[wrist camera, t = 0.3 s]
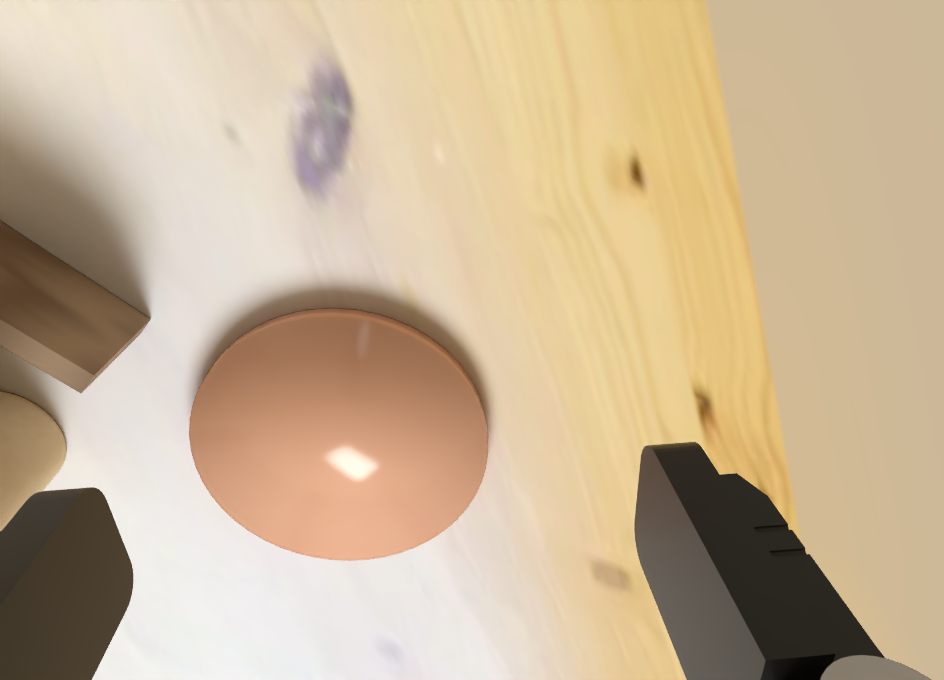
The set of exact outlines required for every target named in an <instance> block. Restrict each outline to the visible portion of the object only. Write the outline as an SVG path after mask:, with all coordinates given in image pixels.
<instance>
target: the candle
mask: <svg viewBox="0 0 944 680" xmlns="http://www.w3.org/2000/svg"><path fill="white" fill-rule="evenodd" d="M65 457H66V443H65V439H64V436H63V434H62V431H61V430H60V428H59V426H58V425H57V424H56V422H55V421H54V420H53V419H52V418H51V417H50V416H49V415H48V414H47V413H46V412H45V411H44V410H43V409H41V408H40V407H38V406H37V405H35V404H34V403H32V402H30V401H28V400H26V399H24V398H22V397H20V396H17V395H14V394H10V393H6V392H1V391H0V531H2V530H3V529H4V527H5V526H6V525H7V524H8V523H9V521H10V520H11V519H12V518H13V516H14V515H15V514H16V513H17V512H18V510H19V509H20V508H21V507H22V505H23V504H24V503H25V502H26V501H27V500H28V498H29V497H30V496H32V495H33V494H35V493H37V492H42V491H43V490H44V489H45V488H46V486H47V485H48V484H49V483H50V482H51V480H52V479H53V478H54V477H55V476H56V474H57V473H58V472H59V470H60V469H61V467H62V465H63V463H64V461H65Z"/></svg>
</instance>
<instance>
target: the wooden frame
mask: <svg viewBox="0 0 944 680" xmlns="http://www.w3.org/2000/svg"><path fill="white" fill-rule="evenodd" d="M149 321H150V318H148V317H147V316H145V315H144V314H142V313H141V312H139V311H138V310H136V309H135V308H133V307H132V306H130V305H128V304H127V303H125V302H124V301H122V300H121V299H119V298H118V297H116V296H115V295H113V294H112V293H110V292H109V291H107V290H105V289H104V288H102V287H101V286H99V285H98V284H96V283H95V282H93V281H92V280H90V279H89V278H87V277H86V276H84V275H82V274H81V273H79V272H78V271H76V270H75V269H73V268H72V267H70V266H69V265H67V264H66V263H64V262H63V261H61V260H59V259H58V258H56V257H55V256H53V255H52V254H50V253H49V252H47V251H46V250H44V249H43V248H41V247H40V246H38V245H37V244H35V243H33V242H32V241H30V240H29V239H27V238H26V237H24V236H23V235H21V234H20V233H18V232H17V231H15V230H14V229H12V228H10V227H9V226H7V225H6V224H4V223H3V222H1V221H0V346H2V347H3V348H5V349H7V350H8V351H10V352H12V353H13V354H15V355H17V356H19V357H20V358H22V359H24V360H25V361H27V362H29V363H30V364H32V365H34V366H36V367H37V368H39V369H41V370H42V371H44V372H46V373H47V374H49V375H51V376H53V377H54V378H56V379H58V380H59V381H61V382H63V383H64V384H66V385H68V386H70V387H71V388H73V389H75V390H76V391H78V392H80V393H82V392H83V391H84V390H85V389H86V388H87V387H88V386H89V385H90V384H91V383H92V382H93V381H94V380H95V379H96V378H97V377H98V376H99V375H100V374H101V373H102V372H103V371H104V370H105V369H106V368H107V367H108V366H109V365H110V364H111V363H112V362H113V361H114V360H115V359H116V358H117V357H118V356H119V355H120V354H121V353H122V352H123V351H124V350H125V349H126V348H127V347H128V346H129V345H130V344H131V343H132V342H133V341H134V340H135V339H136V338H137V337H138V336H139V335H140V333H141V332H142V330H143V329H144V328H145V326H146V325H147V324H148V322H149Z"/></svg>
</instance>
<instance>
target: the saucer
mask: <svg viewBox="0 0 944 680" xmlns="http://www.w3.org/2000/svg"><path fill="white" fill-rule="evenodd" d="M189 437H190V445H191V452H192V456H193V459H194V463H195V466H196V469H197V471H198V473H199V475H200V477H201V479H202V482H203V483H204V485H205V486H206V488H207V490H208V491H209V493H210V494H211V496H212V497H213V498H214V499H215V501H216V502H217V503H218V504H219V505H220V507H221V508H222V509H223V510H224V511H225V512H226V513H227V514H228V515H229V516H230V517H232V518H233V519H234V520H235V521H236V522H237V523H239V524H240V525H241V526H243V527H244V528H245V529H247V530H248V531H250V532H251V533H253V534H255V535H256V536H258V537H260V538H262V539H263V540H265V541H267V542H269V543H272V544H274V545H276V546H278V547H280V548H283V549H286V550H289V551H292V552H295V553H298V554H303V555H307V556H311V557H316V558H323V559H330V560H349V561H351V560H368V559H374V558H381V557H386V556H390V555H394V554H398V553H401V552H404V551H407V550H409V549H412V548H415V547H417V546H419V545H421V544H423V543H425V542H427V541H429V540H431V539H432V538H434V537H435V536H437V535H438V534H440V533H441V532H443V531H444V530H446V529H447V528H448V527H449V526H450V525H451V524H453V523H454V522H455V521H456V520H457V519H458V518H459V517H460V516H461V515H462V513H463V512H464V511H465V510H466V509H467V507H468V506H469V504H470V503H471V501H472V500H473V498H474V497H475V495H476V493H477V491H478V489H479V487H480V485H481V483H482V479H483V476H484V473H485V469H486V464H487V456H488V436H487V426H486V420H485V415H484V409H483V406H482V404H481V401H480V398H479V395H478V393H477V391H476V389H475V387H474V385H473V383H472V381H471V380H470V378H469V376H468V375H467V374H466V372H465V371H464V370H463V368H462V367H461V366H460V364H459V363H458V362H457V361H456V360H455V359H454V358H453V357H452V356H451V355H450V354H449V353H448V352H447V351H446V350H445V349H444V348H442V347H441V346H440V345H439V344H437V343H436V342H435V341H434V340H432V339H431V338H429V337H428V336H426V335H424V334H423V333H421V332H420V331H418V330H416V329H415V328H412V327H410V326H408V325H406V324H404V323H401V322H399V321H397V320H394V319H391V318H388V317H385V316H382V315H379V314H375V313H370V312H365V311H359V310H352V309H338V308H329V309H312V310H306V311H300V312H295V313H291V314H287V315H284V316H281V317H278V318H274V319H272V320H270V321H268V322H265V323H263V324H261V325H259V326H257V327H255V328H253V329H252V330H250V331H249V332H247V333H246V334H244V335H243V336H241V337H240V338H239V339H237V340H236V341H235V342H234V343H233V344H232V345H230V346H229V347H228V348H227V349H226V350H225V351H224V353H223V354H222V355H221V356H220V357H219V359H218V360H217V361H216V362H215V364H214V365H213V366H212V368H211V369H210V371H209V372H208V374H207V376H206V377H205V379H204V381H203V382H202V384H201V385H200V387H199V390H198V392H197V395H196V397H195V400H194V402H193V406H192V411H191V416H190V428H189Z"/></svg>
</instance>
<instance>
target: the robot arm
mask: <svg viewBox="0 0 944 680" xmlns="http://www.w3.org/2000/svg"><path fill="white" fill-rule="evenodd" d="M635 541H636V547H637V552H638V556H639V560H640V563H641V566H642V569H643V571H644V574H645V576H646V579H647V581H648V584H649V586H650V589H651V591H652V594H653V596H654V599H655V601H656V604H657V606H658V609H659V611H660V614H661V616H662V619H663V621H664V624H665V626H666V629H667V631H668V634H669V636H670V639H671V641H672V644H673V646H674V649H675V651H676V654H677V656H678V659H679V661H680V664H681V666H682V669H683V671H684V674H685V676H686V679H687V680H931V679H930V678H928V677H926V676H925V675H923V674H921V673H919V672H918V671H916V670H914V669H912V668H910V667H908V666H905V665H903V664H901V663H898V662H895V661H892V660H889V659H886V658H884V656H883V655H882V653H881V652H880V651H879V650H878V648H877V647H876V646H875V645H874V643H873V642H872V640H871V639H870V637H869V636H868V635H867V633H866V632H865V631H864V629H863V628H862V626H861V625H860V623H859V622H858V621H857V619H856V618H855V617H854V615H853V614H852V612H851V611H850V610H849V608H848V607H847V605H846V604H845V603H844V601H843V600H842V599H841V597H840V596H839V594H838V593H837V592H836V590H835V589H834V588H833V586H832V585H831V583H830V582H829V580H828V579H827V578H826V576H825V575H824V574H823V572H822V571H821V569H820V568H819V567H818V565H817V564H816V563H815V561H814V560H813V559H812V557H811V556H810V555H809V554H808V555H807V554H806V552H805V547H804V546H803V544H802V543H801V542H800V540H799V539H798V538H797V536H796V535H795V533H794V532H793V531H792V530H789V529H788V524H787V522H786V521H785V520H784V518H783V517H782V515H781V514H780V513H779V511H778V510H777V508H776V507H775V506H774V504H773V503H772V501H771V500H770V499H769V497H768V496H767V495H765V494H764V493H763V492H761V491H760V490H759V489H757V488H756V487H754V486H753V485H752V484H750V483H749V482H748V481H746V480H745V479H744V478H742V477H741V476H739V475H738V474H737V473H736V474H724V475H719V473H718V472H717V470H716V469H715V467H714V466H713V464H712V463H711V461H710V460H709V458H708V456H707V455H706V453H705V452H704V450H703V449H702V447H701V446H700V445H699V444H698V443H696V442H688V443H675V444H662V445H649V446H645V447H644V449H643V451H642V455H641V462H640V473H639V483H638V493H637V503H636V513H635ZM132 589H133V569H132V564H131V561H130V558H129V556H128V553H127V551H126V548H125V546H124V543H123V541H122V538H121V536H120V533H119V531H118V528H117V526H116V523H115V521H114V518H113V515H112V513H111V510H110V508H109V505H108V503H107V500H106V498H105V496H104V495H103V493H102V492H101V491H100V490H99V489H97V488H79V489H67V490H54V491H42V492H37V493H35V494H33V495H32V496H30V497H29V498H28V500H27V501H26V502H25V503H24V504H23V505H22V507H21V508H20V509H19V510H18V512H17V513H16V514H15V515H14V516H13V518H12V519H11V520H10V521H9V523H8V524H7V525H6V526H5V527H4V529H3V530H2V531H0V680H92V678H93V676H94V674H95V672H96V670H97V668H98V666H99V664H100V662H101V660H102V658H103V656H104V654H105V652H106V650H107V648H108V646H109V644H110V642H111V640H112V638H113V636H114V634H115V632H116V630H117V628H118V626H119V624H120V622H121V620H122V618H123V616H124V614H125V612H126V610H127V607H128V605H129V602H130V599H131V595H132Z"/></svg>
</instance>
